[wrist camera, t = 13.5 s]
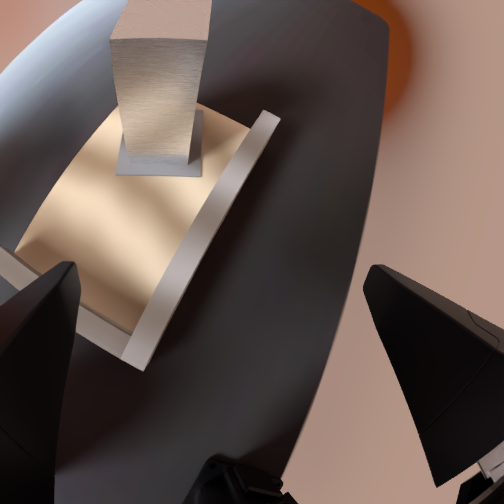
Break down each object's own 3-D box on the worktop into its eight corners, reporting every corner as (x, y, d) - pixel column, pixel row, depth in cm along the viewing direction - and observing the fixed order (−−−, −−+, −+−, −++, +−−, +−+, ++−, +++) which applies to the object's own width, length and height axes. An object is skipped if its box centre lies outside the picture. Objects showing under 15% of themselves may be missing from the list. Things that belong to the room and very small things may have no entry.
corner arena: (148, 363, 20) (143, 371, 16) (11, 272, 18) (-15, 261, 15) (266, 145, 26) (280, 118, 22) (143, 86, 25) (142, 56, 21)
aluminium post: (187, 164, 23) (207, 40, 11) (129, 163, 21) (109, 39, 10) (190, 118, 24) (212, -3, 12) (137, 117, 22) (131, -5, 11)
